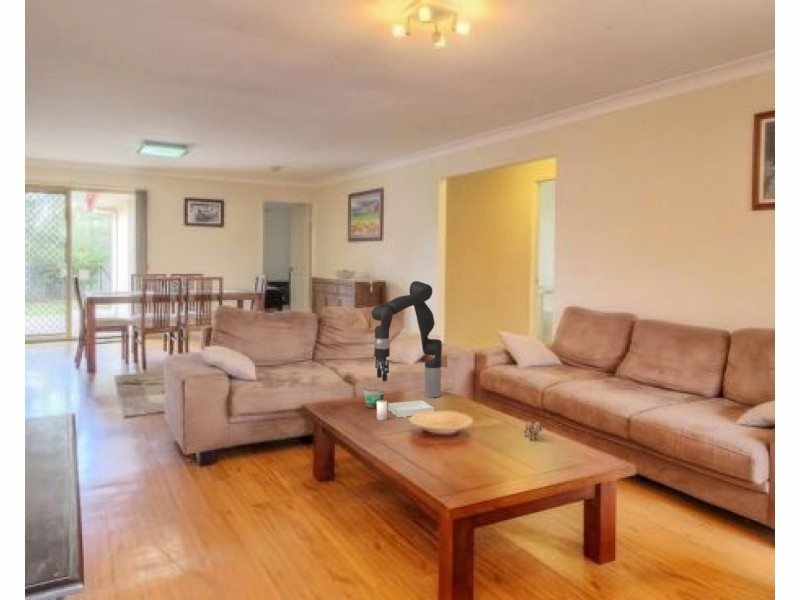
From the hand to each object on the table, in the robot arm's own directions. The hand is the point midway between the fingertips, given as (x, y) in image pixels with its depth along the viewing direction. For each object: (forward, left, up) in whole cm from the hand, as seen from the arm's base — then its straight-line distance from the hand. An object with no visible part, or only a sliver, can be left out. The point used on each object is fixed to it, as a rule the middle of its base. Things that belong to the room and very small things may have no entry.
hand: (381, 379), depth 275 cm
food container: (-20, +1, -20) cm, 29 cm away
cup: (0, 0, -20) cm, 20 cm away
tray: (-7, +18, -20) cm, 28 cm away
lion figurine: (+50, +54, -20) cm, 77 cm away
